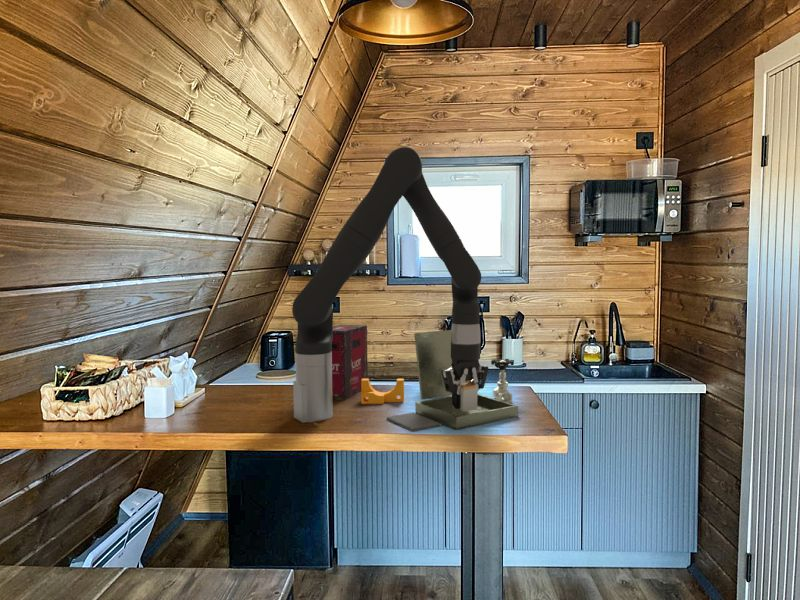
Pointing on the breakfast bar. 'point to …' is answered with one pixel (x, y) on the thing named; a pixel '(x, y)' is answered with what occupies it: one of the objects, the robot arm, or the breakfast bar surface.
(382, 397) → the pipe clamp
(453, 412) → the case
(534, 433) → the breakfast bar surface
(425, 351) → the lid
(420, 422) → the mat
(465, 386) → the block
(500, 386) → the valve
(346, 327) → the box
